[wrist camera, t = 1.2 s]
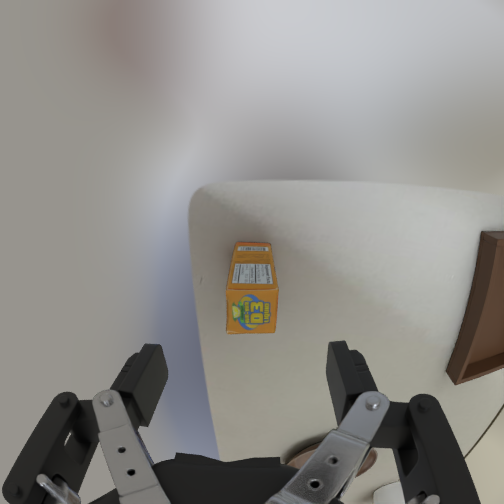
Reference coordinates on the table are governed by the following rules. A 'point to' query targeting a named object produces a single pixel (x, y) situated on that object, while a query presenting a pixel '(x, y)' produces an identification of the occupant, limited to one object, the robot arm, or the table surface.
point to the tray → (482, 316)
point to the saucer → (306, 453)
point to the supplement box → (251, 290)
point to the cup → (389, 494)
